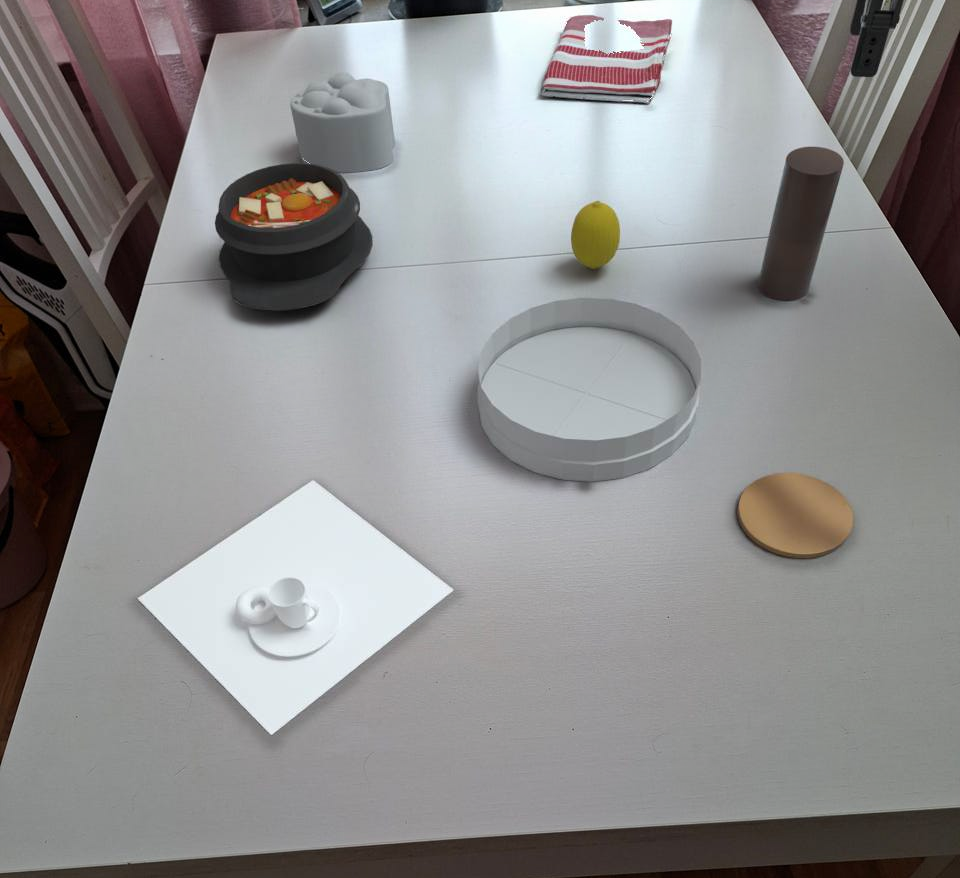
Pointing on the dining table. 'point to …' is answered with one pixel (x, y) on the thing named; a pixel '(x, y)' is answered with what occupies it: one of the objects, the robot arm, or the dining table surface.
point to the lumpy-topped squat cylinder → (344, 124)
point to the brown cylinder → (799, 221)
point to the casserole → (290, 236)
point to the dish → (588, 388)
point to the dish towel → (607, 64)
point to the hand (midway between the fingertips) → (861, 53)
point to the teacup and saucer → (293, 603)
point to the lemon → (595, 234)
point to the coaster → (795, 515)
